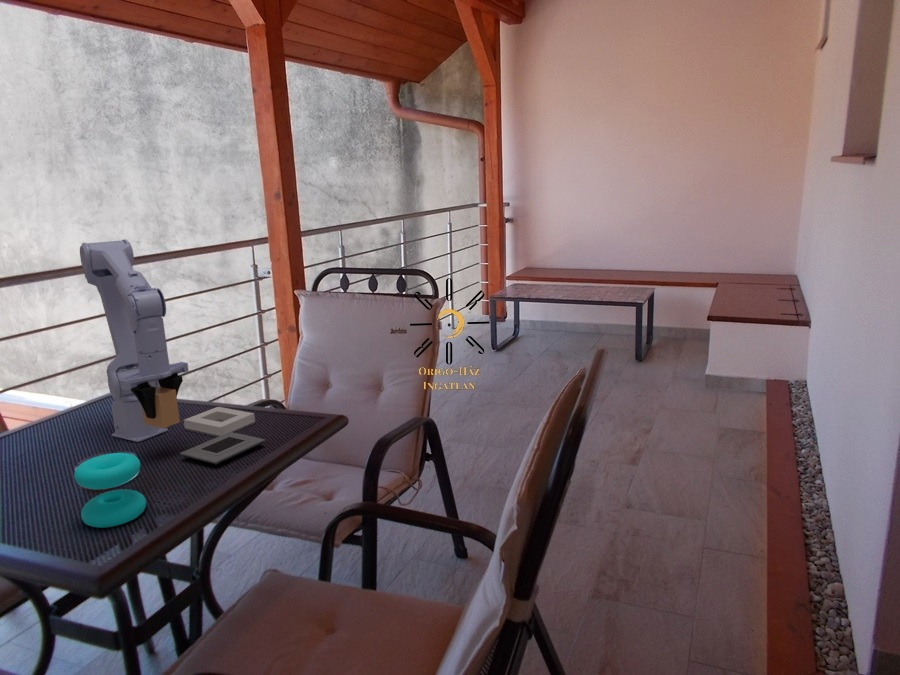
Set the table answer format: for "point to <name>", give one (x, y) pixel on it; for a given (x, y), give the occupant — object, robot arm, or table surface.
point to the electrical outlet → (222, 448)
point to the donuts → (114, 503)
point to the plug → (164, 409)
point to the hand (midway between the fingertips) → (160, 414)
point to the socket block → (219, 421)
